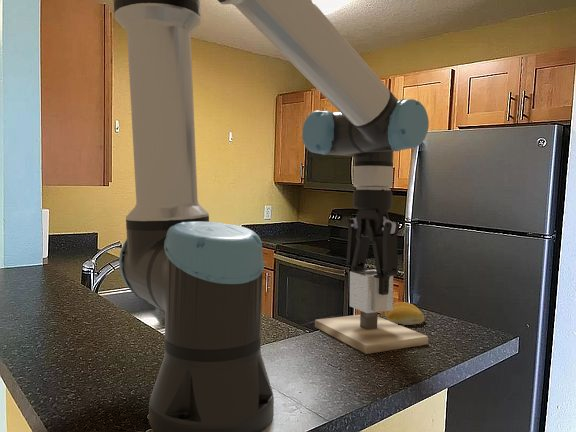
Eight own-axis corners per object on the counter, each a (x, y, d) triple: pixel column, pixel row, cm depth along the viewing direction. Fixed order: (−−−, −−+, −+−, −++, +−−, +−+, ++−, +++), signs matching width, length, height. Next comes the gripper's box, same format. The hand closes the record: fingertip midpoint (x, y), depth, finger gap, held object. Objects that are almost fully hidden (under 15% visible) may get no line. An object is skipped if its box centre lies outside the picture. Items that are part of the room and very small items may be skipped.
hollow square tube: (392, 309, 92) (393, 274, 92) (367, 313, 89) (367, 276, 89) (374, 303, 97) (374, 269, 97) (349, 306, 95) (349, 271, 94)
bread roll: (388, 326, 101) (389, 307, 101) (383, 315, 110) (384, 298, 110) (428, 328, 100) (429, 309, 100) (419, 317, 109) (420, 299, 109)
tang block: (427, 344, 88) (429, 309, 88) (366, 354, 82) (367, 317, 82) (370, 320, 105) (370, 291, 104) (314, 326, 98) (315, 295, 98)
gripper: (421, 189, 85) (417, 316, 86) (360, 189, 102) (357, 295, 103) (388, 188, 82) (384, 320, 83) (330, 188, 99) (327, 298, 100)
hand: (369, 306), depth 93 cm, fingers closed on hollow square tube, 6 cm apart
